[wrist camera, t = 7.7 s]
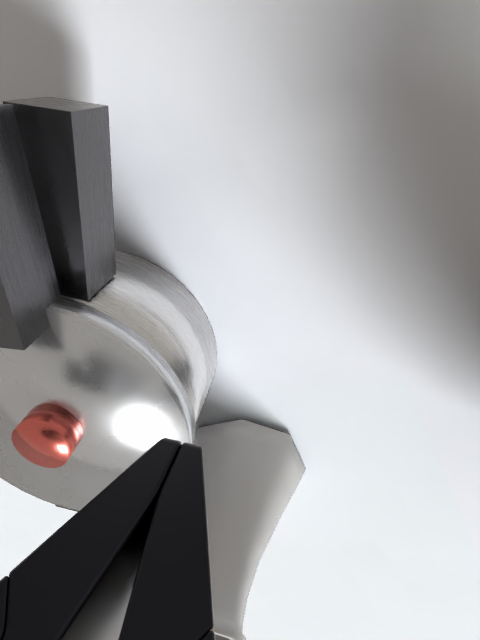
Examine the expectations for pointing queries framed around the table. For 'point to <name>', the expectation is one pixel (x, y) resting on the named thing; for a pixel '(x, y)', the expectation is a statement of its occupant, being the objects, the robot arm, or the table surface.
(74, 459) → the lid
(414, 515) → the table surface
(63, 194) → the pot
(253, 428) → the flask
